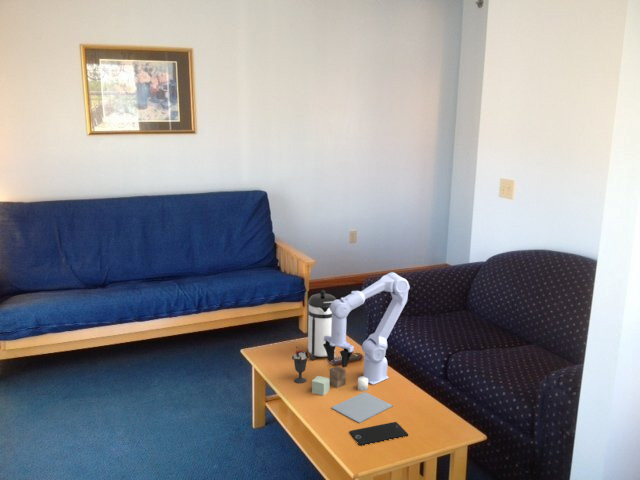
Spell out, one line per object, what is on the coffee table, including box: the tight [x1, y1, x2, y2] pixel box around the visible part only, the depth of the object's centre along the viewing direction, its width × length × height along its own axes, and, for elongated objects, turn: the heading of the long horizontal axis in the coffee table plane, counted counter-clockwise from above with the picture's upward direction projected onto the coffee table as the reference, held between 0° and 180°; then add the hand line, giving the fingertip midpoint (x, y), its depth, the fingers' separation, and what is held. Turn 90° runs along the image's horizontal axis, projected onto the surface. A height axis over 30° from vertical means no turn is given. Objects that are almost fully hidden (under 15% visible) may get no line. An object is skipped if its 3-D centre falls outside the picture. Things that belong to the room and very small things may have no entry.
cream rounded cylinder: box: [357, 376, 369, 392], centre depth 229 cm, size 4×4×4 cm
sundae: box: [291, 346, 310, 384], centre depth 233 cm, size 7×7×15 cm
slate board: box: [330, 391, 394, 424], centre depth 215 cm, size 18×14×1 cm
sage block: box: [311, 375, 331, 396], centre depth 226 cm, size 5×5×5 cm
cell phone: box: [349, 421, 409, 446], centre depth 198 cm, size 9×18×1 cm, turn 111°
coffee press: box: [307, 289, 337, 361], centre depth 258 cm, size 17×16×30 cm
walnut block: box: [328, 365, 347, 389], centre depth 232 cm, size 4×4×6 cm
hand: (337, 363), depth 231 cm, fingers open, 7 cm apart
